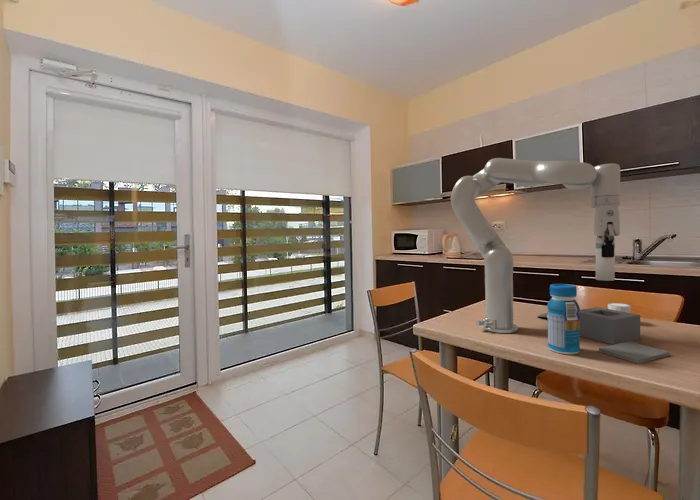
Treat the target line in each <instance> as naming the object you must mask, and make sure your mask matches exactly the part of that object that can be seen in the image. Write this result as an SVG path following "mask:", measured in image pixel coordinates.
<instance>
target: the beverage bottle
mask: <svg viewBox="0 0 700 500" xmlns="http://www.w3.org/2000/svg"><path fill="white" fill-rule="evenodd" d="M577 291H578V290H577V286H576V285H575V284H569V283H552V284H550V285H549V295H550V297H551V298H550V299H549V301H548V303H547V304H546V307H547V309H548V311H547V312H546V313H547V317H546V318H547V348H548V350H550V351H552V352H554V353H556V354H557V353H558V354H561V355H577V354H578V353H580V349H581V348H580V347H581V346H580V343H581V342H580V337H581V336H580V315H579V313H578V312H579V310H581V309H580V306H579V303H578V302H577V300H576V298H577V294H578V292H577Z"/></svg>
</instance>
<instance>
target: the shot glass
mask: <svg viewBox="0 0 700 500" xmlns="http://www.w3.org/2000/svg"><path fill="white" fill-rule="evenodd" d="M631 308H632V306H631V305H630V304H627V303H619V302H608V303H607V309H611V310H617V311H622V312H627V313H631Z"/></svg>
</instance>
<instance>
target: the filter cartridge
mask: <svg viewBox="0 0 700 500" xmlns="http://www.w3.org/2000/svg"><path fill="white" fill-rule="evenodd" d="M605 240H606V238H605ZM602 245H603V241H602V238H597V237H595V280H597V281H607V282H609V281H612V282H613V281H615V279H616V278H615V277H616V276H615V275H616V274H615V273H616V270H615V269H616V268H615V266H616V261H615V260H616V258H615V257H616V238H615V237H614V257H602Z"/></svg>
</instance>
